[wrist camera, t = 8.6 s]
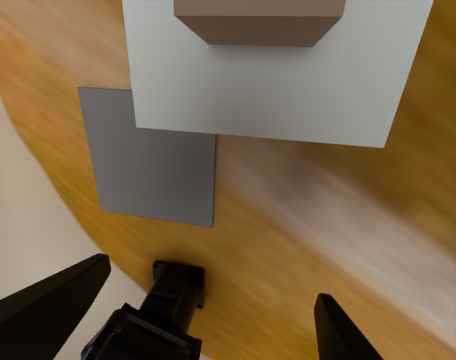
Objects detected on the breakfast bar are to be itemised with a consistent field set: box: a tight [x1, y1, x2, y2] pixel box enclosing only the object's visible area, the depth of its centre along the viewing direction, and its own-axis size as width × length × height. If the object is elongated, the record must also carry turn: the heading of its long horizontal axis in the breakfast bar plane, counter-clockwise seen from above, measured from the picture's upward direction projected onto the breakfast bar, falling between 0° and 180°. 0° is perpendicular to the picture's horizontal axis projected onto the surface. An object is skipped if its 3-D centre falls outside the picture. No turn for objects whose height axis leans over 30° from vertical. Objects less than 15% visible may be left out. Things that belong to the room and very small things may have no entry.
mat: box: [77, 87, 216, 227], centre depth 21 cm, size 13×13×1 cm
